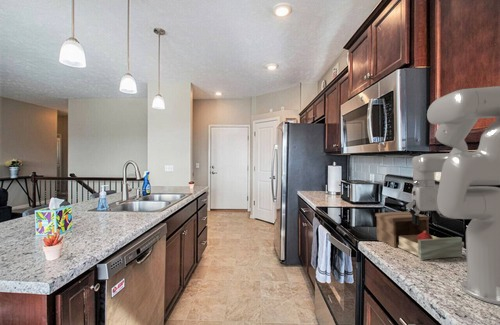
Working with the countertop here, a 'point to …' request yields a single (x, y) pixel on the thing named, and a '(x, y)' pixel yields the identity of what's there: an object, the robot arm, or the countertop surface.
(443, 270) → the countertop surface
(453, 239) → the drawer
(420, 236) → the onion
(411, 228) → the cabinet
